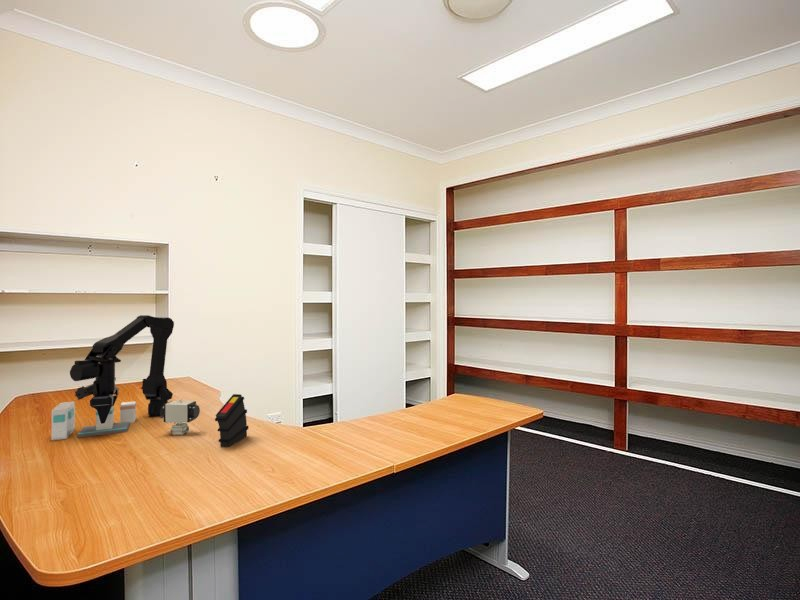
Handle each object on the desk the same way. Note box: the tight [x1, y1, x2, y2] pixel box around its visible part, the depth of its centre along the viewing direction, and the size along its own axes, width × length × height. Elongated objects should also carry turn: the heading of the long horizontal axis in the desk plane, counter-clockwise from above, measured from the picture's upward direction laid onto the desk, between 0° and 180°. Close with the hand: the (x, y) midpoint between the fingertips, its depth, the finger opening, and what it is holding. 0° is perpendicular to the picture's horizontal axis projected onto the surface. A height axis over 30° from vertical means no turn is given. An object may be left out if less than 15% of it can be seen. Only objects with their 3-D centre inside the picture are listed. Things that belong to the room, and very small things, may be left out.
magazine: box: [214, 393, 249, 448], centre depth 139 cm, size 4×13×15 cm, turn 169°
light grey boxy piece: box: [119, 401, 137, 424], centre depth 162 cm, size 5×5×7 cm
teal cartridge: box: [95, 405, 115, 430], centre depth 150 cm, size 5×5×7 cm
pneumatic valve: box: [159, 398, 201, 436], centre depth 147 cm, size 6×12×12 cm, turn 89°
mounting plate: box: [77, 422, 131, 438], centre depth 150 cm, size 14×10×1 cm
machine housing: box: [51, 401, 76, 441], centre depth 146 cm, size 4×12×10 cm, turn 27°
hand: (105, 420), depth 150 cm, fingers open, 9 cm apart
